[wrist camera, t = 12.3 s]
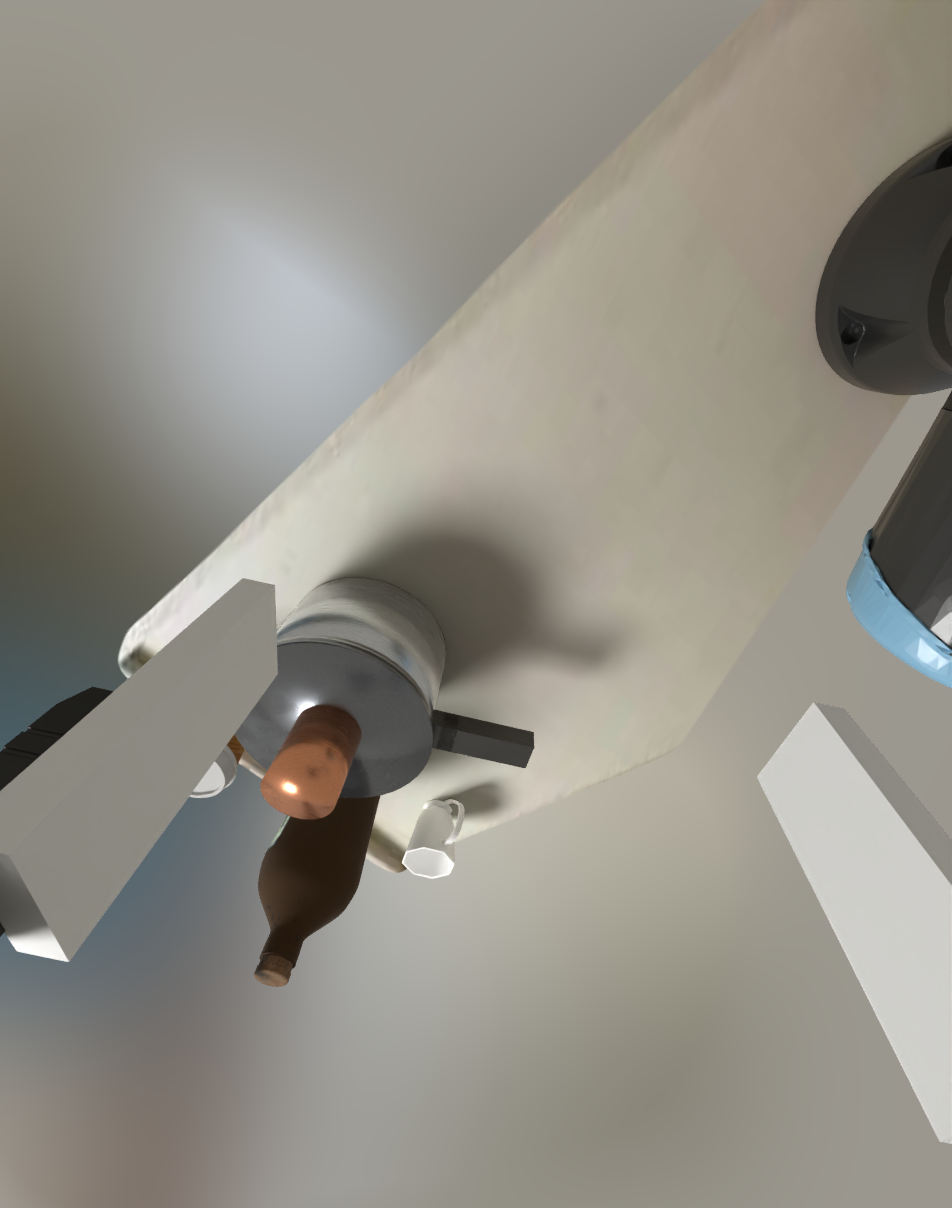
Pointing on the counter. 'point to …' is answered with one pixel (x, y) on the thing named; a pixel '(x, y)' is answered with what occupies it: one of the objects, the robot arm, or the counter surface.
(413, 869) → the cup
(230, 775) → the disposable coffee cup
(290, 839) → the olive oil
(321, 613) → the cooker body
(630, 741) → the counter surface
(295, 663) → the cooker lid
